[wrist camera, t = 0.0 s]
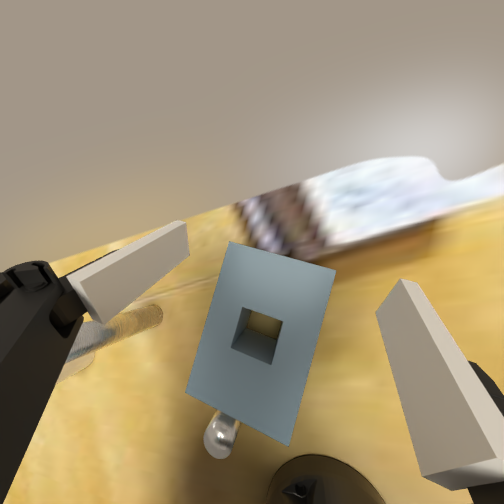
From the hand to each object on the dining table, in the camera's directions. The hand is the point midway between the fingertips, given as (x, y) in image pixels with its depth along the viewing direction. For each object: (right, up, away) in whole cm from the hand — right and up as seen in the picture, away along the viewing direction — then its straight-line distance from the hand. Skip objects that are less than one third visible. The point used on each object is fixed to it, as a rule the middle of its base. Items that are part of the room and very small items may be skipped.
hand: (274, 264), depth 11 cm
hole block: (+1, -9, +15) cm, 17 cm away
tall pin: (-18, -10, +19) cm, 28 cm away
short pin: (-4, -21, +15) cm, 26 cm away
